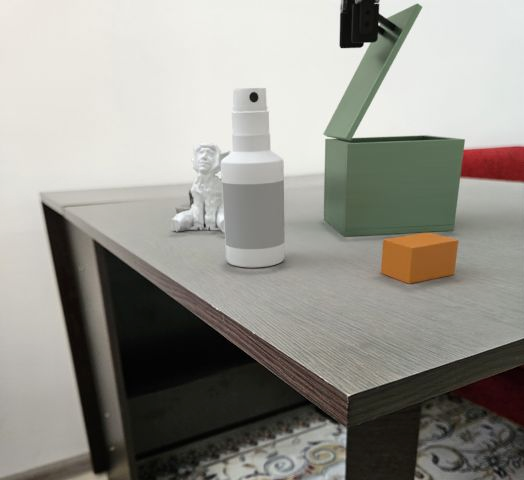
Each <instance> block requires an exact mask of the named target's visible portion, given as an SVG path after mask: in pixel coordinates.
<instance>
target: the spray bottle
mask: <svg viewBox="0 0 524 480" xmlns="http://www.w3.org/2000/svg"><path fill="white" fill-rule="evenodd" d="M232 100H233V101H232V103H233V107H232V112H231V126H232V133H231V143H232V151H230V154H229V155H228V156H226V157H225V158H224V159H223V160H222V161H221V171H220V174H221V175H220V176H221V177H220V178H222V194H223V211H224V228H225V233H224V240H225V241H224V243H225V258H226V261H227V263H228V264H230V265H231V266H235V267H240V268H249V269H250V268H253V269H254V268H267V267H272V266H275V265H278V264H280V263H282V262H283V261H284V259H285V257H286V255H285V254H286V253H285V250H286V249H285V248H286V246H285V244H286V243H285V240H286V239H285V182H284V181H285V171H284V170H285V169H284V168H285V166H284V164H285V163H284V159H283V158H282V157H281V156H280V155H279V154H277V153H275V152H274V151H272V150H271V132H270V111H268V106H267V88H266V87H241V88H233V89H232Z"/></svg>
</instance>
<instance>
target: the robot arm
mask: <svg viewBox="0 0 524 480" xmlns="http://www.w3.org/2000/svg"><path fill="white" fill-rule="evenodd" d="M380 1H381V0H340V5H339V6H340V7H339V9H340V10H339V43H338V44H339V48H340V49H361V48H363V47H364V45H365V44H368V43H369V44H370V43H373V42H376V41H377V39H378V25H379V24H380V23H379V14H380ZM351 16H352V19H351Z"/></svg>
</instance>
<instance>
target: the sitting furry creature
mask: <svg viewBox="0 0 524 480" xmlns="http://www.w3.org/2000/svg"><path fill="white" fill-rule="evenodd" d="M192 150H193V157H192V158H191V162H192V165H193V167H192V169H193V170H194V171H195V172H196V173H197V175H196V176H195V177H194V178H193V181H192V182H193V183H192V185H191V187H190V189H191V191H190V192H191V194H192V196H193V198H194V199H193V200H194V203H193V204H192V205H191V209H190V210H189V211H188V210H187V211H184V212H181V213H179V214H177V213H176V214H175V215H174V216H173V217H172V218H171V219H170V220H169V227H170V229H171V230H172V231H173V232H176V233H179V232H184V231H198V230H199V231H203V230H206V231H221V232H222V233H223V234H225V228H224V211H223V194H222V182H221V181H220V180H219V179H220V177H219V176H218V175H217V174H218V173H219V172H221V161H222V160H223V159H224V158H225V157H226V156H228V155H229V154H230V153H231V151H230V150H228V151H224V152H222V151H221V148H220V147H219V146H218V145H216V144H214V143H213V142H210V141H207V142H205V141H203V142H200V143H199V144H198V145H196V147H193V149H192Z"/></svg>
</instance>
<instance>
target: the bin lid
mask: <svg viewBox="0 0 524 480" xmlns="http://www.w3.org/2000/svg"><path fill="white" fill-rule="evenodd" d="M422 9H423V6H422V5H421V4H419V3H415V4H413V5H411V6H409V7H406V8H405V9H403V10H400V11H398V12H396V13H394V14H393V15H390V16H388V17H385V16H384V15H383V14H381V13H379V23H378V39H377V41H376V42H373V43H369V45H368V47H367V48H366V51H365V52H364V54H363V56H362V58H361V60H360V62H359V64H358V66H357V68H356V70H355V71H354V73H353V76H352V78H351V80H350V81H349V84H348V86H347V88H346V89H345V91H344V93H343V95H342V97H341V99H340V101H339V102H338V105H337V106H336V109H335V110H334V112H333V114H332V116H331V117H330V120H329V122H328V124H327V126H326V127H325V130H324V131H323V136H325V137H327V138H331V139H336V138H337V139H342V140H347V141H351V139H352V138H354V136H355V133H356V132H357V130H358V128H359V126H360V125H361V122H362V121H363V119H364V117H365V115H366V114H367V111H368V110H369V107H370V106H371V104H372V102H373V101H374V99H375V97H376V94H377V93H378V91H379V89H380V87H381V86H382V83H383V82H384V80H385V78H386V76H387V74H388V72H389V70H390V69H391V67H392V65H393V63H394V61H395V59H396V58H397V56H398V53H400V50H401V48H402V47H403V44H404V43H405V41H406V39H407V37H408V35H409V33H410V31H411V30H412V27H413V26H414V24H415V23H416V20H417V18H418V17H419V15H420V13H421V11H422ZM351 19H352V16H351Z"/></svg>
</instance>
